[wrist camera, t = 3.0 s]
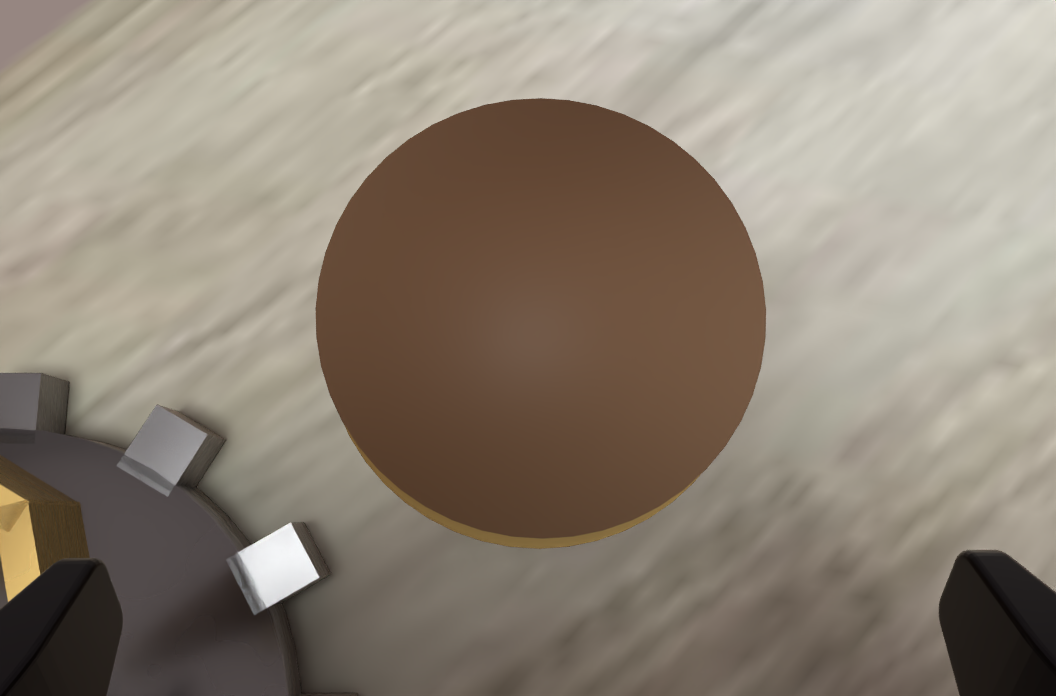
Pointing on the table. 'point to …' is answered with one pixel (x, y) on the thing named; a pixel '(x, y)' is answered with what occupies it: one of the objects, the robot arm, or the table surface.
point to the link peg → (540, 322)
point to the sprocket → (151, 547)
